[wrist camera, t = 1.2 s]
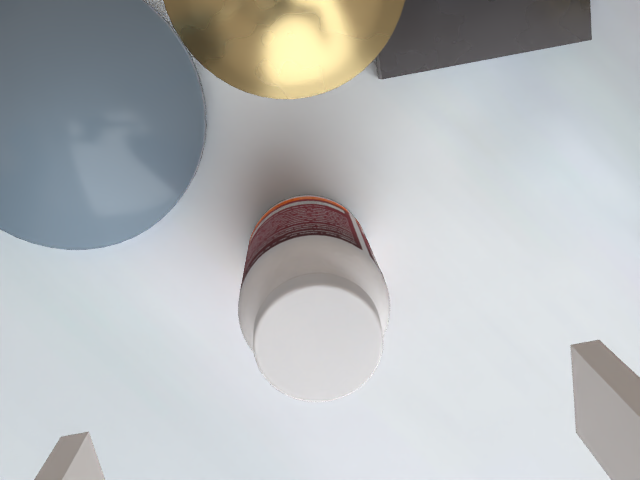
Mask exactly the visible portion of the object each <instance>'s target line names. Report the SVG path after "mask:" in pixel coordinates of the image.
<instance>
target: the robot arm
mask: <svg viewBox="0 0 640 480" xmlns="http://www.w3.org/2000/svg"><path fill="white" fill-rule="evenodd" d="M571 360H572V376H573V392H574V408H575V424H576V433H577V435H578V436H579V437H580V439H581V440H582V441H583V443H584V444H585V445H586V447H587V448H588V449H589V451H590V452H591V453H592V455H593V456H594V457H595V459H596V460H597V461H598V463H599V464H600V465H601V467H602V468H603V469H604V471H605V472H606V473H607V475H608V476H609V477H610V479H611V480H640V377H638V376H637V375H636V374H635V373H634V372H633V371H632V370H631V369H630V368H629V367H628V366H627V365H626V364H624V363H623V362H622V361H621V360H620V359H619V358H618V357H617V356H616V355H615V354H614V353H613V352H612V351H610V350H609V349H608V348H607V347H606V346H605V345H604V344H603V343H602V342H601V341H600V340H595V341H590V342H584V343H579V344H573V345H571ZM34 480H105V478H104V475H103V472H102V469H101V466H100V463H99V460H98V457H97V455H96V452H95V449H94V446H93V443H92V440H91V437H90V434H89V432H85V433H79V434H74V435H68V436H63V437H61V438H60V439H59V441H58V442H57V444H56V446H55V447H54V449H53V450H52V452H51V454H50V455H49V457H48V458H47V460H46V462H45V463H44V465H43V467H42V468H41V470H40V471H39V473H38V475H37V476H36V478H35V479H34Z"/></svg>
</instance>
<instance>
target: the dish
mask: <svg viewBox="0 0 640 480" xmlns="http://www.w3.org/2000/svg"><path fill="white" fill-rule="evenodd" d="M206 127H207V121H206V105H205V99H204V93H203V88H202V85H201V81H200V78H199V75H198V72H197V69H196V67H195V65H194V63H193V60H192V58H191V56H190V54H189V52H188V50H187V49H186V47H185V45H184V44H183V42H182V40H181V39H180V37H179V36H178V35H177V33H176V32H175V31H174V30H173V28H172V27H171V26H170V24H169V23H168V22H167V21H166V20H165V19H164V18H163V17H162V16H161V15H160V14H159V13H158V12H157V11H156V10H155V9H154V8H153V7H151V6H150V5H149V4H148V3H146V2H145V1H144V0H0V229H1V230H3V231H5V232H7V233H9V234H11V235H13V236H15V237H17V238H20V239H23V240H25V241H28V242H31V243H34V244H38V245H42V246H46V247H50V248H58V249H67V250H86V249H95V248H102V247H106V246H110V245H114V244H118V243H121V242H123V241H126V240H128V239H131V238H133V237H135V236H137V235H139V234H141V233H142V232H144V231H146V230H148V229H149V228H151V227H152V226H153V225H154V224H156V223H157V222H158V221H160V220H161V219H162V218H163V217H164V216H165V215H166V214H167V213H168V212H169V211H170V210H171V209H172V208H173V207H174V206H175V205H176V203H177V202H178V201H179V199H180V198H181V197H182V195H183V194H184V193H185V191H186V190H187V189H188V187H189V185H190V183H191V181H192V179H193V178H194V176H195V174H196V171H197V169H198V166H199V163H200V161H201V158H202V153H203V149H204V145H205V137H206Z"/></svg>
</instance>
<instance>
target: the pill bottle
mask: <svg viewBox="0 0 640 480" xmlns="http://www.w3.org/2000/svg"><path fill="white" fill-rule="evenodd" d="M389 315H390V299H389V293H388V289H387V286H386V283H385V280H384V277H383V275H382V272H381V270H380V268H379V266H378V264H377V262H376V259H375V257H374V255H373V252H372V250H371V248H370V245H369V243H368V241H367V239H366V236H365V234H364V232H363V229H362V227H361V226H360V224H359V222H358V221H357V220H356V218H355V217H354V216H353V215H352V214H351V213H350V212H349V211H348V210H347V209H346V208H345V207H343V206H342V205H340V204H339V203H337V202H335V201H332V200H330V199H327V198H324V197H320V196H314V195H303V196H296V197H292V198H288V199H286V200H283V201H281V202H279V203H277V204H276V205H274V206H273V207H271V208H270V209H269V210H268V211H267V212H266V213H265V214H264V215H263V216H262V217H261V218H260V219H259V221H258V223H257V224H256V226H255V228H254V230H253V232H252V235H251V238H250V241H249V246H248V252H247V257H246V262H245V268H244V273H243V279H242V284H241V289H240V296H239V303H238V316H239V323H240V327H241V330H242V333H243V336H244V338H245V340H246V342H247V344H248V346H249V347H250V349H251V350H252V351H253V353H254V356H255V359H256V362H257V365H258V367H259V369H260V371H261V373H262V374H263V376H264V377H265V378H266V380H267V381H268V382H269V383H270V384H271V385H272V386H273V387H274V388H276V389H277V390H278V391H280V392H282V393H283V394H285V395H287V396H289V397H292V398H295V399H298V400H302V401H307V402H326V401H332V400H336V399H339V398H342V397H345V396H347V395H349V394H351V393H353V392H354V391H356V390H357V389H359V388H360V387H361V386H363V385H364V384H365V383H366V382H367V380H368V379H369V378H370V377H371V376H372V374H373V373H374V371H375V370H376V368H377V366H378V364H379V361H380V359H381V356H382V352H383V342H384V341H383V337H384V334H385V332H386V329H387V326H388V322H389Z"/></svg>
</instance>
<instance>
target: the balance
mask: <svg viewBox="0 0 640 480" xmlns="http://www.w3.org/2000/svg"><path fill="white" fill-rule="evenodd" d="M163 1H164V4H165V7H166V11H167V13H168V15H169V18H170V20H171V22H172V24H173V27H174V28H175V30H176V32H177V33H178V35H179V37H180V39H181V40H182V42H183V43H184V44H185V46H186V47H187V48H188V50H189V51H190V52H191V54H192V55H193V56H194V57H195V58H196V59H197V60H198V61H199V62H200V63H201V64H202V65H203V66H204V67H205V68H206V69H207V70H209V71H210V72H211V73H213V74H214V75H215V76H216V77H218V78H219V79H221V80H223V81H224V82H226V83H228V84H229V85H231V86H233V87H235V88H238V89H240V90H242V91H245V92H247V93H251V94H254V95H258V96H261V97H268V98H274V99H298V98H306V97H311V96H315V95H318V94H322V93H325V92H327V91H330V90H332V89H335V88H337V87H339V86H341V85H342V84H344V83H346V82H348V81H349V80H351V79H352V78H354V77H355V76H356V75H358V74H359V73H360V72H362V71H363V70H364V69H365V68H366V67H367V66H368V65H369V64H370V63H371V62H372V61H373V60H374V59H375V58H376V65H377V72H378V78H379V79H386V78H391V77H396V76H402V75H407V74H412V73H418V72H423V71H428V70H434V69H439V68H444V67H449V66H455V65H460V64H465V63H471V62H476V61H481V60H487V59H492V58H497V57H502V56H508V55H513V54H518V53H524V52H529V51H534V50H540V49H545V48H550V47H555V46H561V45H566V44H571V43H577V42H582V41H587V40H592V36H591V13H590V0H163Z"/></svg>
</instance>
